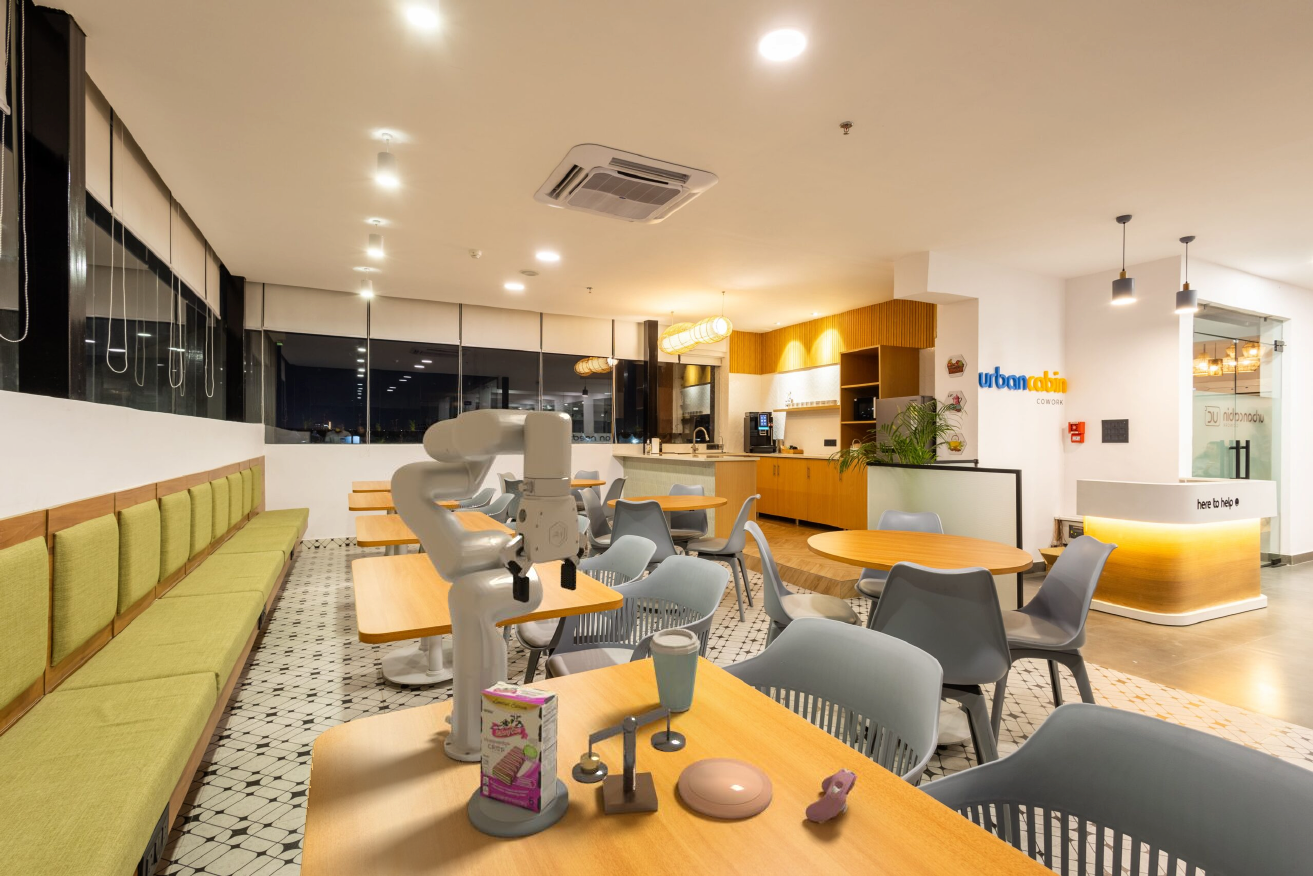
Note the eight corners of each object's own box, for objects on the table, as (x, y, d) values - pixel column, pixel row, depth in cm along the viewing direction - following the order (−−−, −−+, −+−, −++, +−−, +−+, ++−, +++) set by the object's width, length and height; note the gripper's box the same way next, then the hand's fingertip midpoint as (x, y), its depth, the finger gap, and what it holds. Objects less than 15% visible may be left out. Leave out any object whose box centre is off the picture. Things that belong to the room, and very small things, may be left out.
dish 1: (447, 811, 94) (447, 802, 94) (523, 768, 106) (523, 760, 106) (513, 852, 85) (513, 842, 85) (588, 800, 97) (588, 792, 97)
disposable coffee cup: (701, 718, 125) (702, 644, 125) (648, 717, 125) (648, 643, 125) (698, 695, 136) (699, 627, 135) (649, 694, 136) (650, 626, 135)
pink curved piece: (828, 840, 90) (851, 804, 89) (801, 816, 92) (822, 781, 91) (845, 805, 99) (866, 772, 97) (820, 784, 101) (840, 751, 99)
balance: (571, 817, 92) (572, 724, 92) (571, 787, 100) (572, 701, 100) (689, 808, 95) (690, 717, 95) (680, 779, 103) (681, 695, 103)
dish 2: (660, 794, 98) (660, 786, 98) (709, 755, 110) (710, 748, 110) (743, 832, 89) (743, 823, 89) (788, 785, 101) (788, 777, 101)
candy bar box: (478, 798, 95) (478, 691, 95) (498, 781, 99) (498, 679, 99) (540, 816, 91) (541, 704, 90) (558, 797, 95) (559, 691, 95)
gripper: (517, 494, 90) (515, 611, 90) (602, 486, 103) (600, 588, 104) (487, 490, 95) (485, 601, 95) (571, 483, 108) (570, 580, 108)
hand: (545, 594), depth 99 cm, fingers open, 9 cm apart
